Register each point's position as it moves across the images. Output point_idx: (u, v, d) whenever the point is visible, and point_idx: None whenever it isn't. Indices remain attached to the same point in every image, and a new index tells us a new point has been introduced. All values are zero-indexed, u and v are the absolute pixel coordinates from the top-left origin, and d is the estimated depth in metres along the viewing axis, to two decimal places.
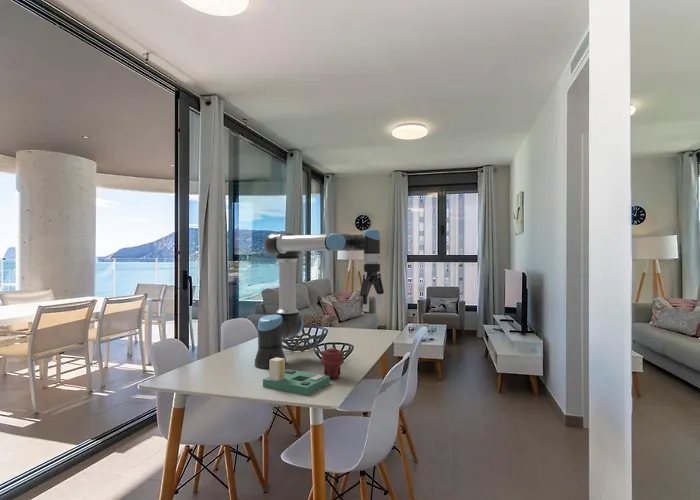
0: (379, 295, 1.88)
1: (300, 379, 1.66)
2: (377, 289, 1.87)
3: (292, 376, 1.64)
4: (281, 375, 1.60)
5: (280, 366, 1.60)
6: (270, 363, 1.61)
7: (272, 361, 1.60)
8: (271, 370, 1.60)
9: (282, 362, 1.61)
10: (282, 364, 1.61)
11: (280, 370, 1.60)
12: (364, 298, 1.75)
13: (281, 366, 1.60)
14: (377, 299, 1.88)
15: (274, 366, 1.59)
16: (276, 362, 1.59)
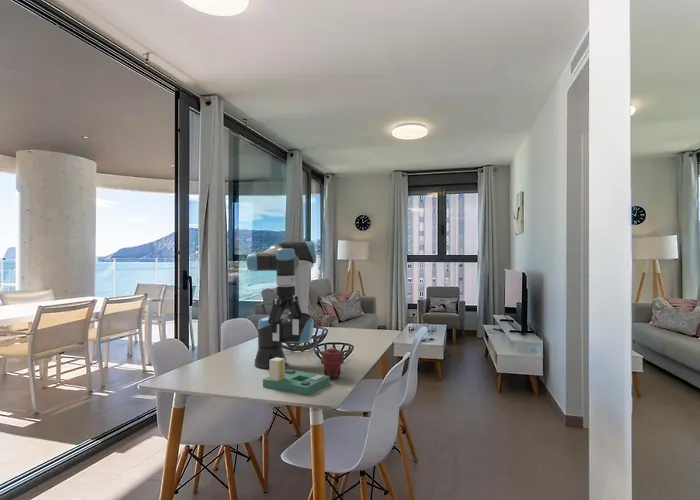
0: (296, 321, 1.69)
1: (300, 379, 1.66)
2: (293, 314, 1.69)
3: (292, 376, 1.64)
4: (281, 375, 1.60)
5: (280, 366, 1.60)
6: (270, 363, 1.61)
7: (272, 361, 1.60)
8: (271, 370, 1.60)
9: (282, 362, 1.61)
10: (282, 364, 1.61)
11: (280, 370, 1.60)
12: (273, 326, 1.56)
13: (281, 366, 1.60)
14: (294, 325, 1.69)
15: (274, 366, 1.59)
16: (276, 362, 1.59)
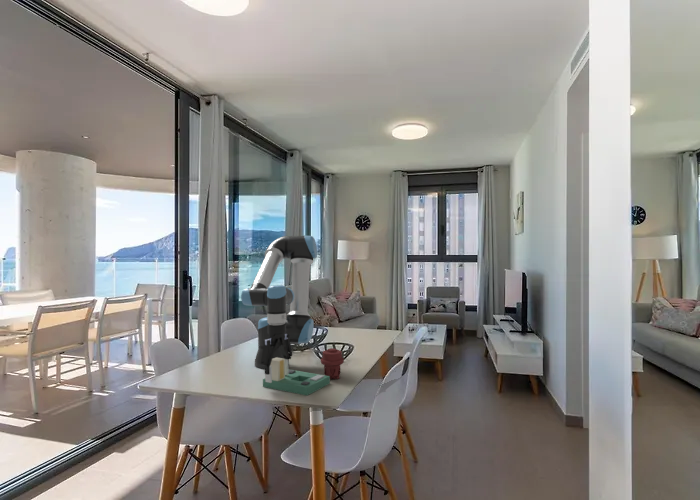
0: (285, 361, 1.66)
1: (300, 379, 1.66)
2: (283, 353, 1.66)
3: (292, 376, 1.64)
4: (281, 375, 1.60)
5: (280, 366, 1.60)
6: None
7: (272, 361, 1.60)
8: None
9: (282, 362, 1.61)
10: (282, 364, 1.61)
11: (280, 370, 1.60)
12: (266, 368, 1.56)
13: (281, 366, 1.60)
14: None
15: (274, 366, 1.59)
16: (276, 362, 1.59)
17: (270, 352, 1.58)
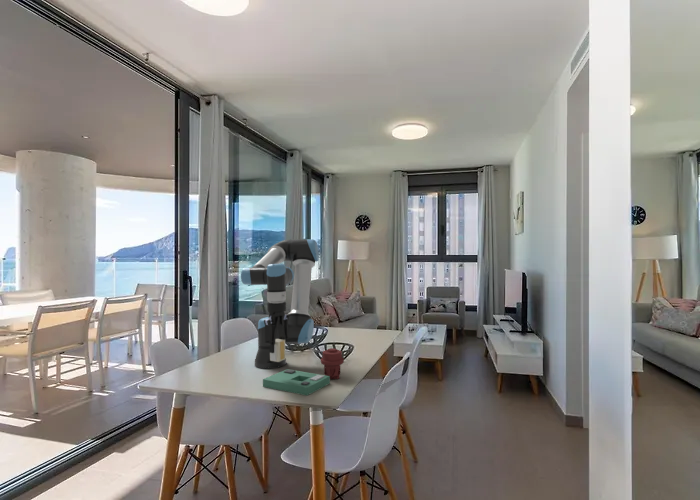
0: None
1: (300, 379, 1.66)
2: (280, 334, 1.64)
3: (292, 376, 1.64)
4: (281, 356, 1.61)
5: (280, 347, 1.60)
6: None
7: None
8: None
9: (282, 343, 1.61)
10: (282, 345, 1.61)
11: (281, 351, 1.60)
12: (271, 346, 1.58)
13: (281, 347, 1.60)
14: None
15: None
16: (276, 343, 1.59)
17: (272, 331, 1.59)
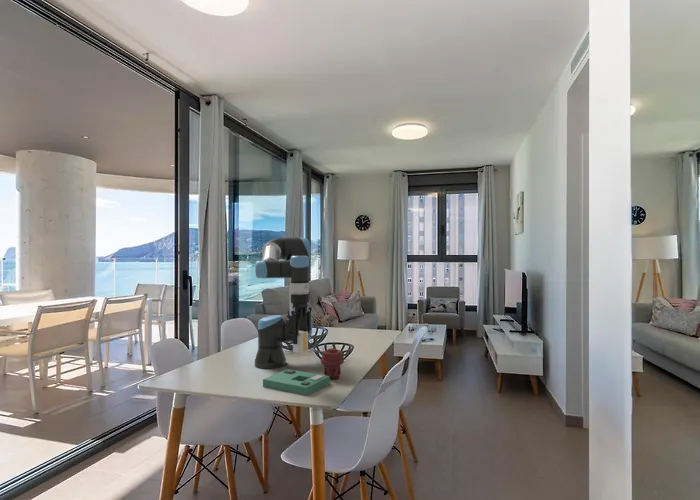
0: None
1: (300, 379, 1.66)
2: (303, 326, 1.64)
3: (292, 376, 1.64)
4: (305, 347, 1.60)
5: (303, 339, 1.60)
6: None
7: None
8: None
9: (305, 334, 1.61)
10: (305, 336, 1.61)
11: (304, 342, 1.60)
12: (294, 337, 1.58)
13: (304, 338, 1.60)
14: None
15: None
16: (300, 334, 1.59)
17: (296, 322, 1.59)
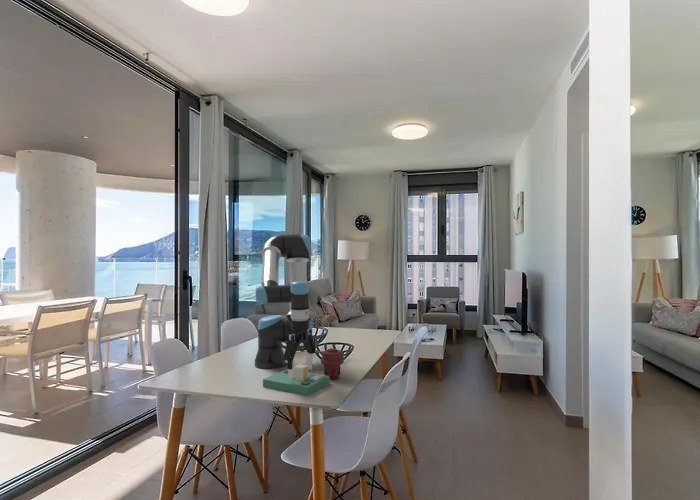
0: (309, 355, 1.67)
1: None
2: (307, 348, 1.67)
3: None
4: None
5: (304, 373, 1.60)
6: None
7: (296, 368, 1.61)
8: (295, 377, 1.61)
9: (306, 369, 1.61)
10: (306, 371, 1.61)
11: (304, 377, 1.60)
12: (289, 362, 1.55)
13: (305, 373, 1.60)
14: (307, 359, 1.67)
15: (298, 373, 1.60)
16: (300, 369, 1.60)
17: (293, 347, 1.58)
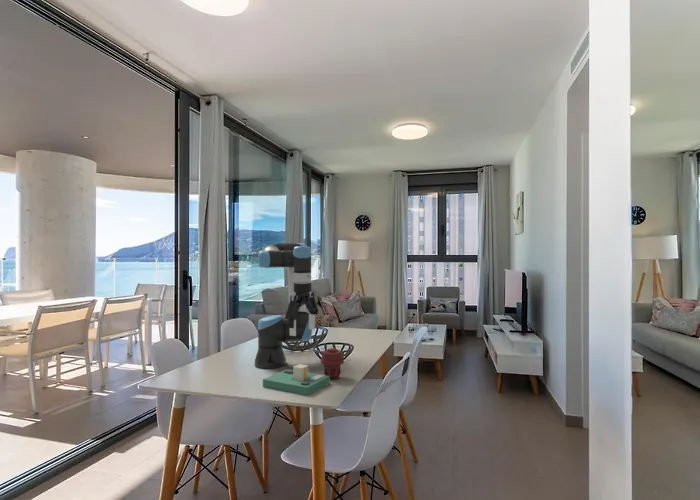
0: (312, 316, 1.74)
1: None
2: (310, 309, 1.74)
3: (292, 376, 1.64)
4: None
5: (304, 373, 1.60)
6: (294, 370, 1.61)
7: (296, 368, 1.60)
8: (295, 377, 1.61)
9: (306, 369, 1.61)
10: (306, 371, 1.61)
11: (304, 377, 1.60)
12: (290, 321, 1.62)
13: (305, 373, 1.60)
14: (310, 320, 1.75)
15: (298, 373, 1.60)
16: (300, 369, 1.59)
17: (295, 308, 1.64)
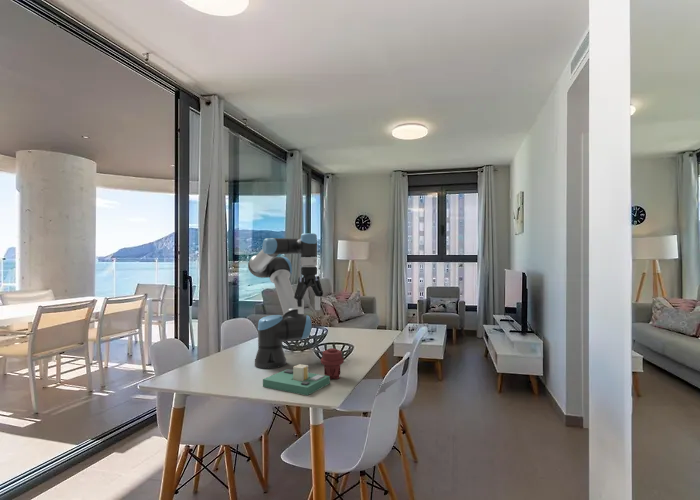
0: (318, 297, 1.91)
1: None
2: (316, 292, 1.91)
3: (292, 376, 1.64)
4: None
5: (304, 373, 1.60)
6: (294, 370, 1.61)
7: (296, 368, 1.60)
8: (295, 377, 1.61)
9: (306, 369, 1.61)
10: (306, 371, 1.61)
11: (304, 377, 1.60)
12: (299, 301, 1.78)
13: (305, 373, 1.60)
14: (316, 301, 1.91)
15: (298, 373, 1.60)
16: (300, 369, 1.59)
17: (303, 288, 1.81)
